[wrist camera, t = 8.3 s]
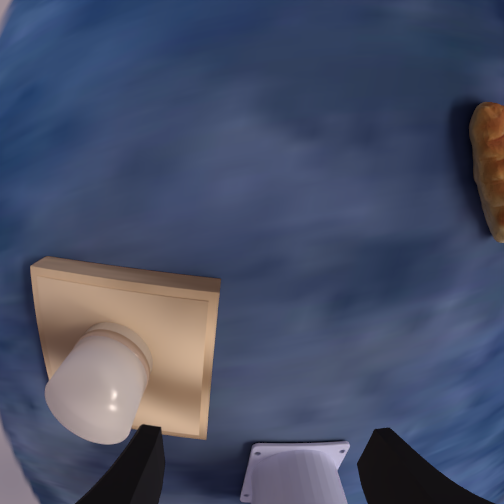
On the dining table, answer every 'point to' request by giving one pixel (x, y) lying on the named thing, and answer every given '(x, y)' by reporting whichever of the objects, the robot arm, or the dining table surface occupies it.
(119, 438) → the pot
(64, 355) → the base board
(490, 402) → the dining table surface
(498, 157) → the pastry
